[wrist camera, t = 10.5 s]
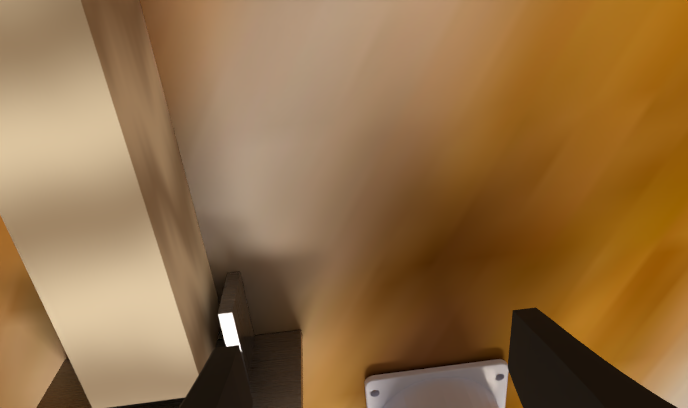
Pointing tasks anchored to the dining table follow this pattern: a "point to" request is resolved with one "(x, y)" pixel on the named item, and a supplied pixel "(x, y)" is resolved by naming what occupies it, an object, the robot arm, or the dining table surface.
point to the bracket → (257, 351)
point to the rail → (102, 199)
